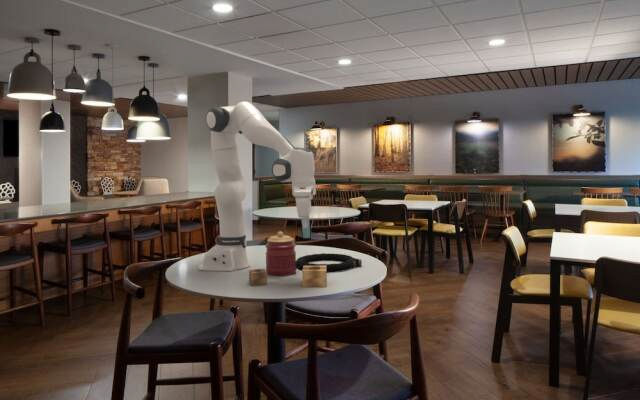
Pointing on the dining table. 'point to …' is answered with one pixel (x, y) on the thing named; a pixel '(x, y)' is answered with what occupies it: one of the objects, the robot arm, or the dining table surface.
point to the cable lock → (347, 260)
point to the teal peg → (306, 230)
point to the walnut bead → (258, 277)
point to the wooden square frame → (314, 276)
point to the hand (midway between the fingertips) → (305, 226)
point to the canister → (280, 255)
